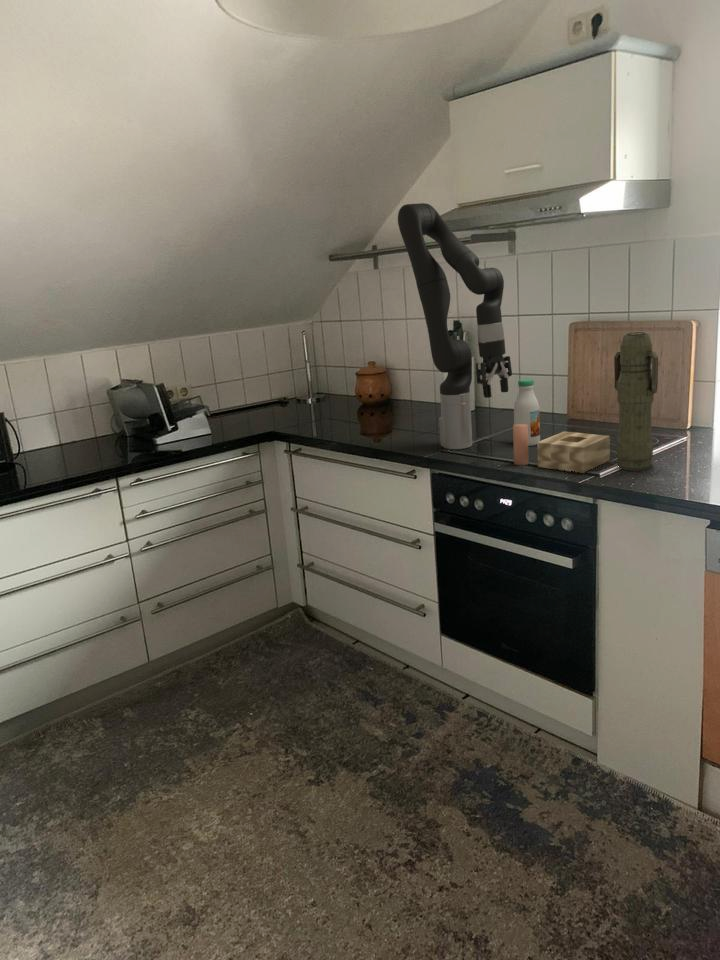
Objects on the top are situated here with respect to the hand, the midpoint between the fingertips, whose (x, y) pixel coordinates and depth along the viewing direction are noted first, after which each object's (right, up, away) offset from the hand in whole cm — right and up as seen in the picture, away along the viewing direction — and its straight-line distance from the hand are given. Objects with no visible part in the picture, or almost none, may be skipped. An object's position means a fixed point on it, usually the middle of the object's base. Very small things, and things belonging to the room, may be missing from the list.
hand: (496, 394), depth 219 cm
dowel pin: (+6, -20, -8) cm, 23 cm away
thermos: (+33, -22, -21) cm, 44 cm away
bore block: (+19, -21, -13) cm, 31 cm away
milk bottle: (+12, -14, +13) cm, 22 cm away
